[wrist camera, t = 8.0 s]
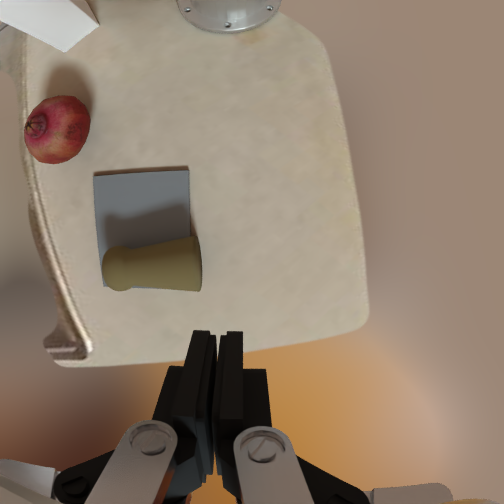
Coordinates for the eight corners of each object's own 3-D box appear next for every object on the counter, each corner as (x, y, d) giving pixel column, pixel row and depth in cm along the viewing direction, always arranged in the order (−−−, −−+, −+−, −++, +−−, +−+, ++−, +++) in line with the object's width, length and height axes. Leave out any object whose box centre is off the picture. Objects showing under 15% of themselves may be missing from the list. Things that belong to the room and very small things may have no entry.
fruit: (57, 102, 29) (9, 91, 19) (107, 100, 29) (64, 82, 20) (48, 162, 31) (-1, 165, 21) (97, 164, 32) (51, 167, 22)
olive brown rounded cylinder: (197, 227, 34) (110, 235, 33) (189, 249, 28) (89, 257, 28) (203, 274, 36) (121, 278, 36) (198, 302, 31) (104, 305, 31)
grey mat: (95, 176, 32) (93, 176, 31) (189, 170, 32) (188, 170, 32) (105, 284, 36) (103, 286, 35) (193, 287, 36) (192, 289, 36)
